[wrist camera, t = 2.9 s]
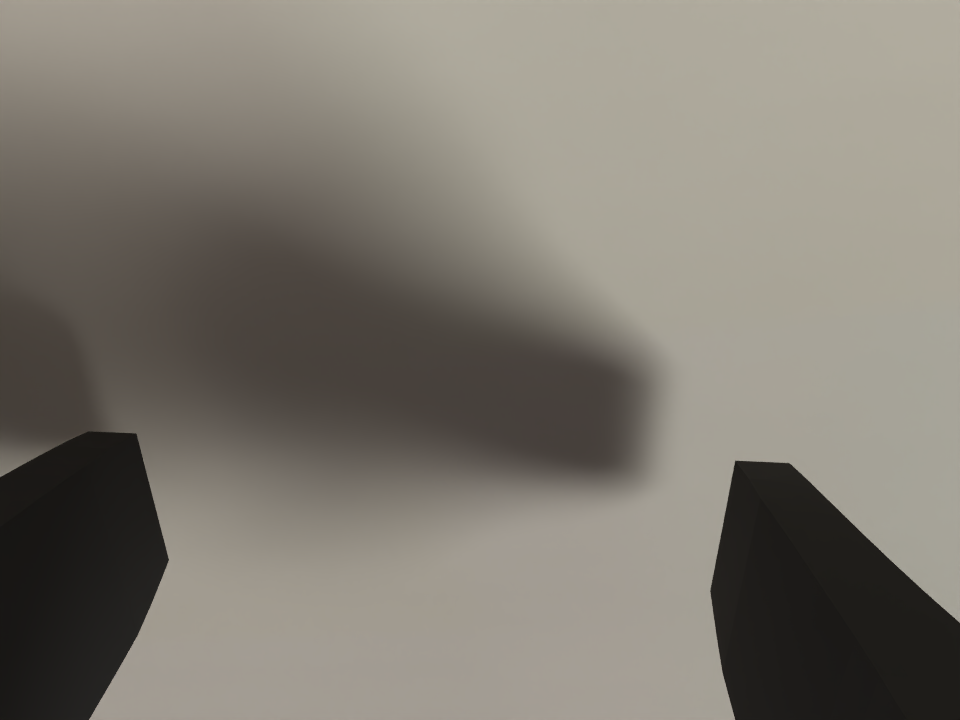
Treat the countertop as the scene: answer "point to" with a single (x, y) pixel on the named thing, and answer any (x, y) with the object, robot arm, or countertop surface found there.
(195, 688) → the countertop surface
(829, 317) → the countertop surface
